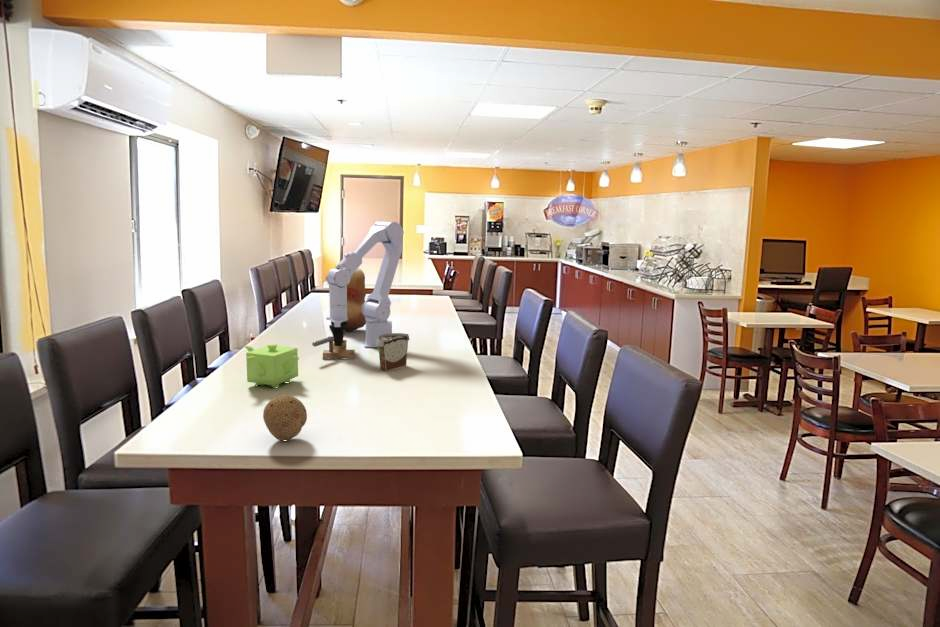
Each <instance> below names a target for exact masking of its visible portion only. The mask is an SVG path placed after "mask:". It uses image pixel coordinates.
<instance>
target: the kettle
mask: <svg viewBox="0 0 940 627" xmlns="http://www.w3.org/2000/svg"><path fill="white" fill-rule="evenodd" d="M243 347H244V348H245V349H246V350H247V351H248V352H246V353H245V354H246V355H245V356H246V357H245V358H246V377H247V378H246V380H247V382H248V383H255V384H254V386H255V385H262V386H264V385H266V386H267V385H268V386H271V387H273V388H276V387H280V384H282V383H283V382H290V381H291V382H292V379H295V378H297V377H298V376H299V359H300V357H299V355H298V348H297V347H292V346H291V347H290V346H283V345H278V344H276V343H269V344H267V345H266V346H263V347H260V348H257V349H254V348H253V347H252V346H249V345H244V346H243ZM247 382H246V383H247ZM283 384H284V383H283ZM271 387H270V388H271ZM273 388H272V389H273ZM276 389H277V388H276Z"/></svg>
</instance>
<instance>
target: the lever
mask: <svg viewBox="0 0 940 627" xmlns="http://www.w3.org/2000/svg"><path fill="white" fill-rule="evenodd" d="M331 341H334V337H333V335H332V336H327V337H325V338H322V339H318V340H315V341H313V342H312V347H315V348H316V347H318V346H321V345H324V344H329V342H331Z"/></svg>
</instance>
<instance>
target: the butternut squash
mask: <svg viewBox="0 0 940 627" xmlns="http://www.w3.org/2000/svg"><path fill="white" fill-rule="evenodd" d="M366 296H367V291H366V276H365V272H364V271H363V270H362V269H360V267H358V268H357V270H356V271H355V272H354V273H353V274H352V276H351V279H350V283H349V284H347V317H348V320H346V321H348V323H347V325H346V326H347V327H346V329H345V331H346V332H355V331H357V330H358V329H360V328H363V327H364V326H366V320H365V316H364V315H363V314H362V306H363V304H364V303H365V301H366ZM345 331H344V332H345Z"/></svg>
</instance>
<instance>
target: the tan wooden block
mask: <svg viewBox="0 0 940 627" xmlns="http://www.w3.org/2000/svg"><path fill="white" fill-rule="evenodd" d="M347 344H348V342H347V339H343V341H342V345H341V346H335V344H334V341H333V350H348V346H347Z"/></svg>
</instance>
